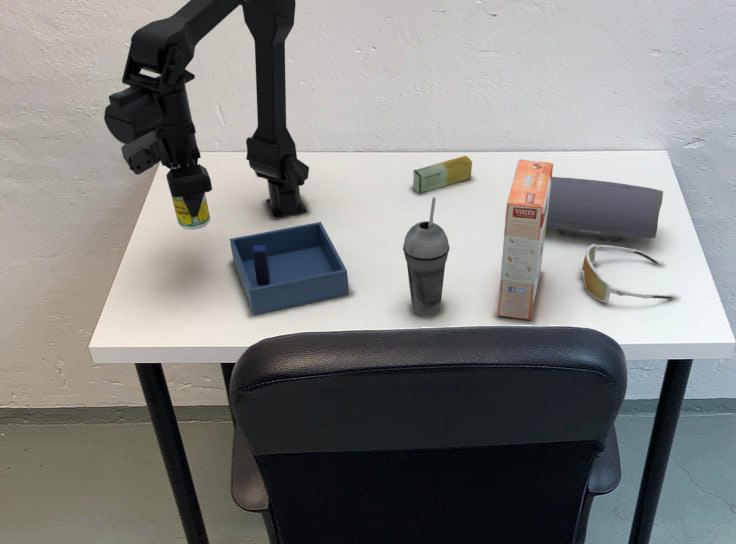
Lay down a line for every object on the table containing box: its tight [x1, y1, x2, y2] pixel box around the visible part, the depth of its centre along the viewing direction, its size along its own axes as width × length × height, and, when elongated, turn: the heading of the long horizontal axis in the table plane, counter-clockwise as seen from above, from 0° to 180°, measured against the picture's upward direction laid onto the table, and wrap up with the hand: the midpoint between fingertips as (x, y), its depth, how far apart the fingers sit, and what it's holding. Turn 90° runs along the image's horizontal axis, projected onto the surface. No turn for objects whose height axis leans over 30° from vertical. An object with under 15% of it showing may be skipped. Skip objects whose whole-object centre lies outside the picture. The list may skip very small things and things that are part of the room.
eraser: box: [252, 245, 270, 286], centre depth 149 cm, size 2×2×7 cm
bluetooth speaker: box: [546, 176, 664, 241], centre depth 159 cm, size 23×9×10 cm, turn 77°
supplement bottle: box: [170, 164, 211, 231], centre depth 145 cm, size 5×5×10 cm
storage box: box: [229, 221, 350, 316], centre depth 151 cm, size 16×16×5 cm
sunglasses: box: [581, 243, 675, 303], centre depth 150 cm, size 14×15×5 cm
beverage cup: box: [402, 197, 450, 317], centre depth 139 cm, size 7×7×20 cm
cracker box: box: [497, 159, 554, 321], centre depth 142 cm, size 14×6×21 cm, turn 168°
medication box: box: [412, 155, 473, 194], centre depth 174 cm, size 12×3×4 cm, turn 119°
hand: (191, 207), depth 147 cm, fingers closed on supplement bottle, 5 cm apart
